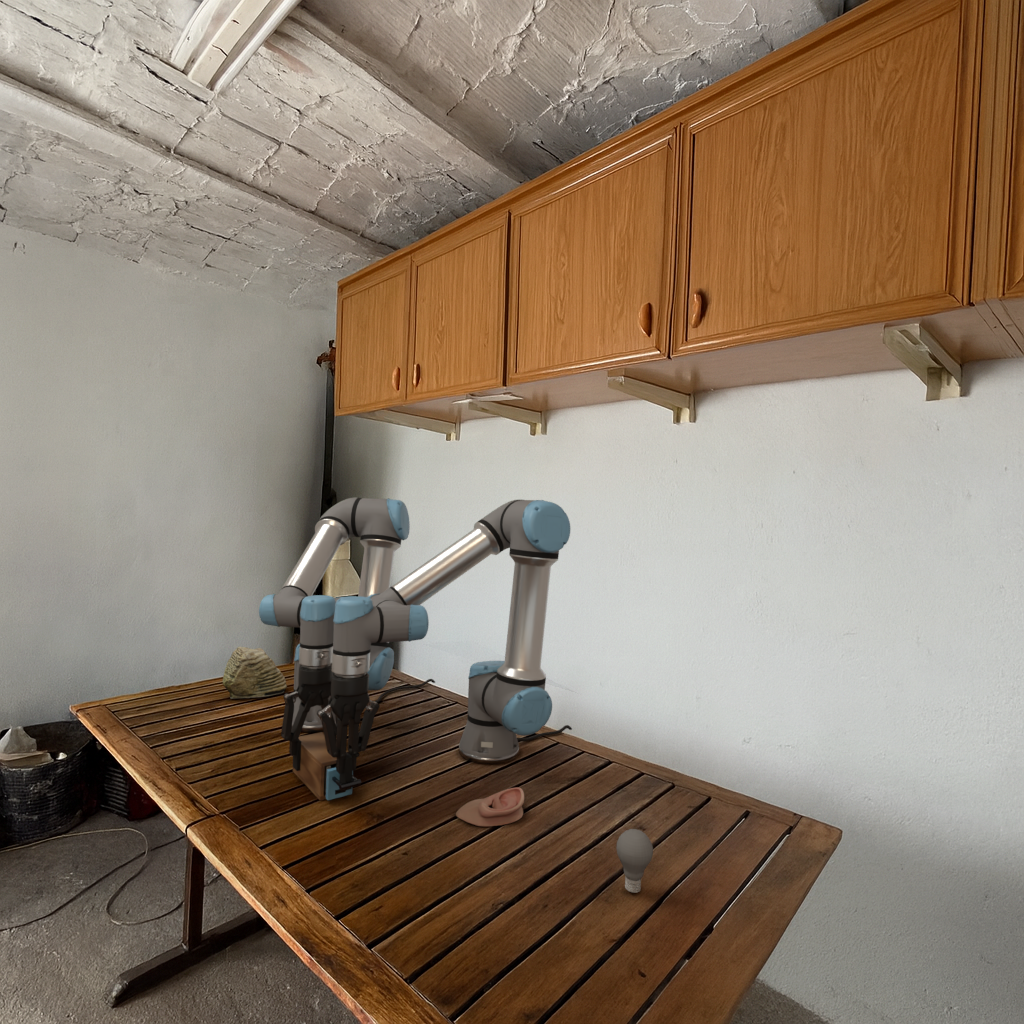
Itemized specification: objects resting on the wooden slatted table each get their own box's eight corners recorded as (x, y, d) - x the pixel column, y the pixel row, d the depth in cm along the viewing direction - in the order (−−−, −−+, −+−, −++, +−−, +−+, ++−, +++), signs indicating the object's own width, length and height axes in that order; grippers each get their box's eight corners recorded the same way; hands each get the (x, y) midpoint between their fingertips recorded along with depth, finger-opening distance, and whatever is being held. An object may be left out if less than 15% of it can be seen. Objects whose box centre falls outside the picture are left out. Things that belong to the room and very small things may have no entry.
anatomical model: (451, 802, 125) (467, 778, 136) (451, 822, 125) (466, 796, 136) (517, 812, 122) (528, 786, 134) (516, 832, 123) (527, 804, 134)
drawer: (363, 804, 130) (364, 774, 130) (337, 811, 126) (339, 781, 126) (324, 767, 146) (325, 741, 146) (301, 773, 143) (302, 746, 142)
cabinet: (349, 792, 136) (351, 756, 136) (319, 800, 132) (321, 763, 132) (320, 765, 149) (321, 731, 149) (292, 771, 145) (293, 737, 145)
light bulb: (610, 879, 108) (613, 822, 108) (644, 879, 109) (647, 822, 109) (619, 902, 102) (622, 840, 102) (655, 901, 103) (658, 840, 103)
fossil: (218, 695, 195) (220, 647, 195) (278, 685, 208) (279, 640, 207) (228, 703, 189) (230, 653, 188) (289, 692, 201) (290, 645, 201)
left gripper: (278, 674, 135) (274, 781, 135) (363, 662, 147) (359, 761, 148) (267, 666, 141) (263, 768, 141) (349, 655, 153) (346, 750, 153)
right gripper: (326, 682, 123) (321, 802, 123) (387, 673, 131) (382, 786, 131) (312, 672, 129) (307, 787, 129) (371, 664, 137) (366, 773, 137)
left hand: (312, 764), depth 144 cm, fingers closed on cabinet, 7 cm apart
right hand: (345, 787), depth 130 cm, fingers closed
